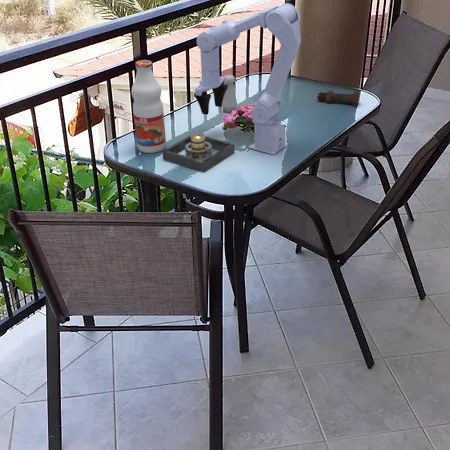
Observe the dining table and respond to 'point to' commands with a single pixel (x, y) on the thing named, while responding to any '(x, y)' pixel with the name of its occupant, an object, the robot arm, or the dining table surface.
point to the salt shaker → (229, 95)
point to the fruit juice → (148, 110)
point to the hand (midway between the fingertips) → (211, 110)
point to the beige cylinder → (197, 142)
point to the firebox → (198, 153)
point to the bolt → (339, 97)
